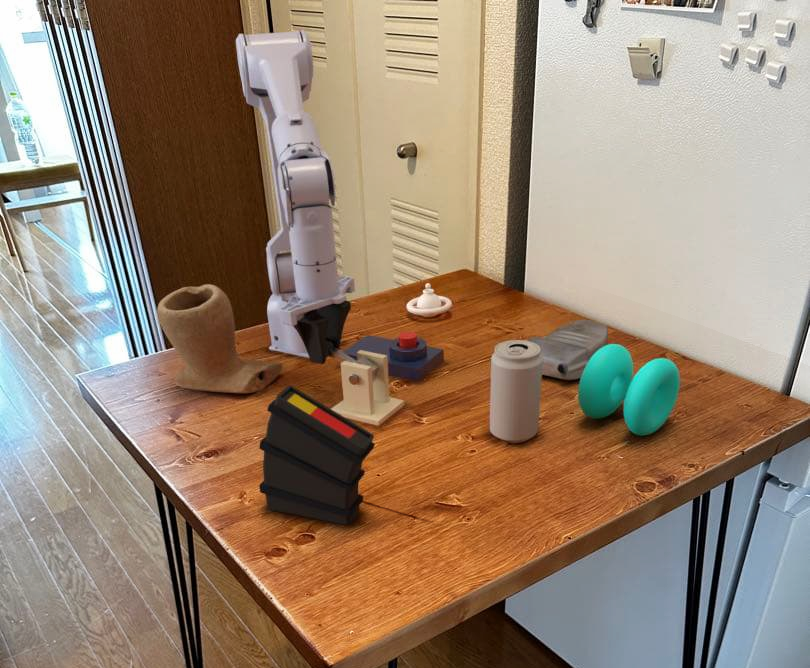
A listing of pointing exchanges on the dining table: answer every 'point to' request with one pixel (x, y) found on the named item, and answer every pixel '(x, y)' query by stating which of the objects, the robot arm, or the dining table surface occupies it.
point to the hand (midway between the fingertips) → (324, 358)
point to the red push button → (407, 340)
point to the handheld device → (570, 348)
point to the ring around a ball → (429, 304)
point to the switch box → (367, 391)
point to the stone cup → (210, 343)
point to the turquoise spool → (629, 389)
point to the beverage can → (515, 390)
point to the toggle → (348, 358)
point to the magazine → (312, 459)
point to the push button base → (401, 356)
